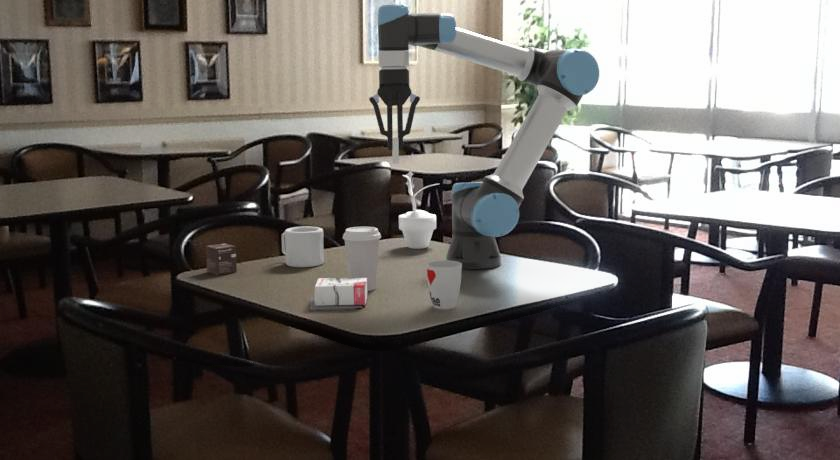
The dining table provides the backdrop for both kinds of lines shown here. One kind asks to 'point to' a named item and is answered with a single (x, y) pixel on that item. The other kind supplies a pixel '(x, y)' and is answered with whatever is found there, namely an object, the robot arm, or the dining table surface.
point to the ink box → (340, 291)
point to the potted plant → (417, 222)
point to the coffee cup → (362, 253)
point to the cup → (444, 283)
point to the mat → (331, 306)
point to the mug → (303, 246)
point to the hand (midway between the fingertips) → (395, 163)
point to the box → (221, 259)
